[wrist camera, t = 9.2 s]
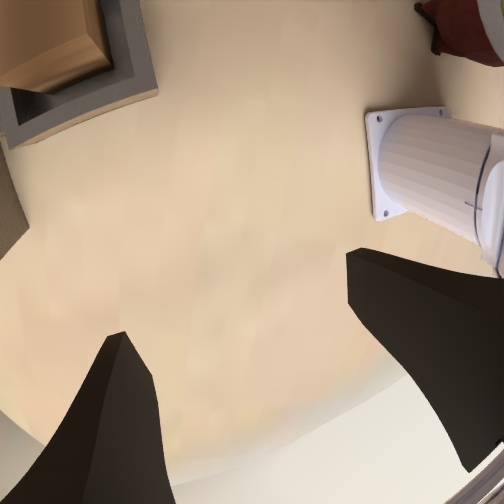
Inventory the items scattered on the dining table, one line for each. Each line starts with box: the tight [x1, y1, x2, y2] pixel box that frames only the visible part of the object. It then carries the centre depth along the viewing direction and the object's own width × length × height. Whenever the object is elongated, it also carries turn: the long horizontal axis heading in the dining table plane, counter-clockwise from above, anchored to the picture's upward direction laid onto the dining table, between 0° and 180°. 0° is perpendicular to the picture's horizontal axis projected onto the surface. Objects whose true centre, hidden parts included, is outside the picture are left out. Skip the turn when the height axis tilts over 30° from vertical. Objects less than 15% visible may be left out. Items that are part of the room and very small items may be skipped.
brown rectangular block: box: [0, 0, 115, 95], centre depth 8 cm, size 4×4×7 cm
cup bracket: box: [0, 0, 158, 260], centre depth 9 cm, size 11×16×5 cm
